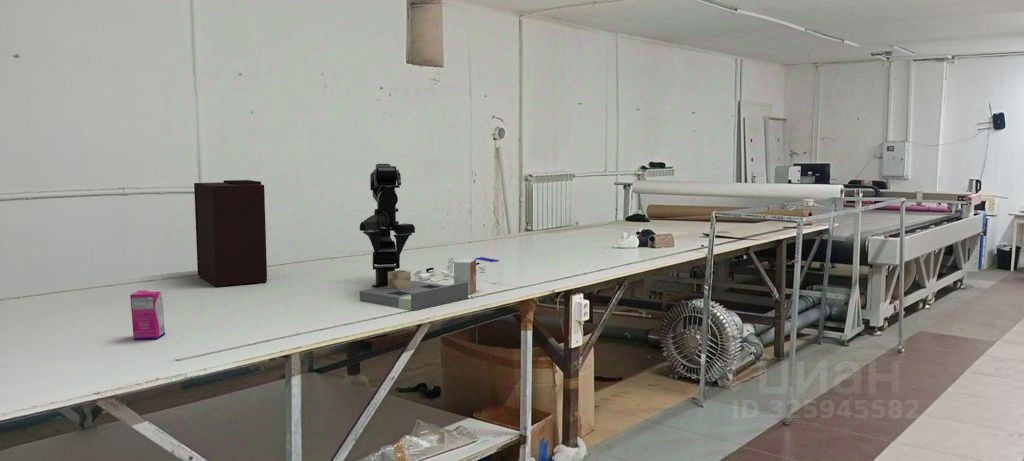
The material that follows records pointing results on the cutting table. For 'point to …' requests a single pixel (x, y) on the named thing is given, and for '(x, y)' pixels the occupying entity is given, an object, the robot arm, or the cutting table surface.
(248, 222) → the tall dark brown box
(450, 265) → the miniature set
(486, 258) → the booklet
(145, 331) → the supplement box
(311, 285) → the cutting table surface
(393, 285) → the maple block
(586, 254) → the cutting table surface
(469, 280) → the small box
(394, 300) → the board
